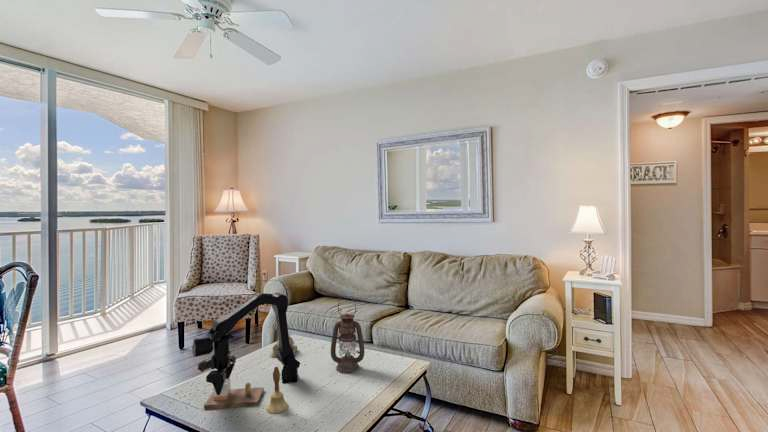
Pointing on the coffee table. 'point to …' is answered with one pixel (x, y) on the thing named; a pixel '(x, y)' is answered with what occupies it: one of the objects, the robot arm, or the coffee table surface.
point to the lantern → (347, 343)
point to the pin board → (237, 398)
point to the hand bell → (276, 396)
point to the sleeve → (223, 391)
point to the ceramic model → (278, 346)
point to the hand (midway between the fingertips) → (222, 389)
